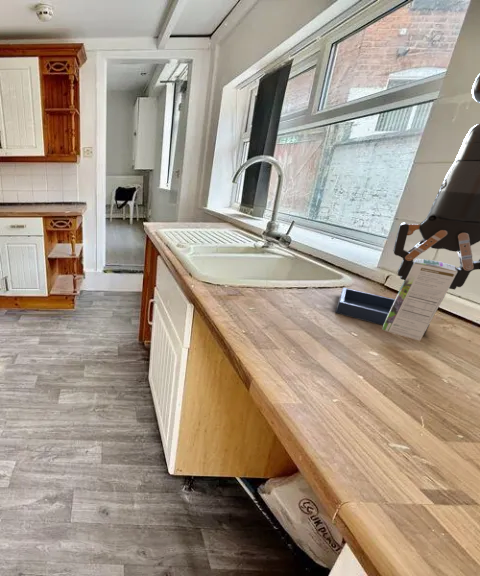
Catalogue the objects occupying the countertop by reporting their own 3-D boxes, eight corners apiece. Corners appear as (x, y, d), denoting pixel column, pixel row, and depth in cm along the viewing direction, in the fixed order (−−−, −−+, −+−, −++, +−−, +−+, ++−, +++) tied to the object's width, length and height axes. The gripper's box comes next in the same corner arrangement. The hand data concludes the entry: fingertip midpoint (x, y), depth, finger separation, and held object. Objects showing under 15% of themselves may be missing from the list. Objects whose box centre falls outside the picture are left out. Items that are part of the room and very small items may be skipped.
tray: (416, 315, 76) (421, 305, 75) (423, 336, 66) (429, 324, 65) (339, 297, 85) (343, 287, 84) (335, 312, 75) (339, 301, 74)
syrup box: (383, 321, 66) (413, 256, 60) (422, 332, 62) (457, 264, 56) (381, 330, 62) (412, 262, 56) (422, 342, 58) (459, 270, 53)
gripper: (531, 194, 50) (477, 288, 56) (411, 186, 58) (376, 269, 65) (550, 196, 45) (488, 300, 51) (415, 187, 53) (376, 278, 59)
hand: (425, 282), depth 58 cm, fingers closed on syrup box, 6 cm apart
